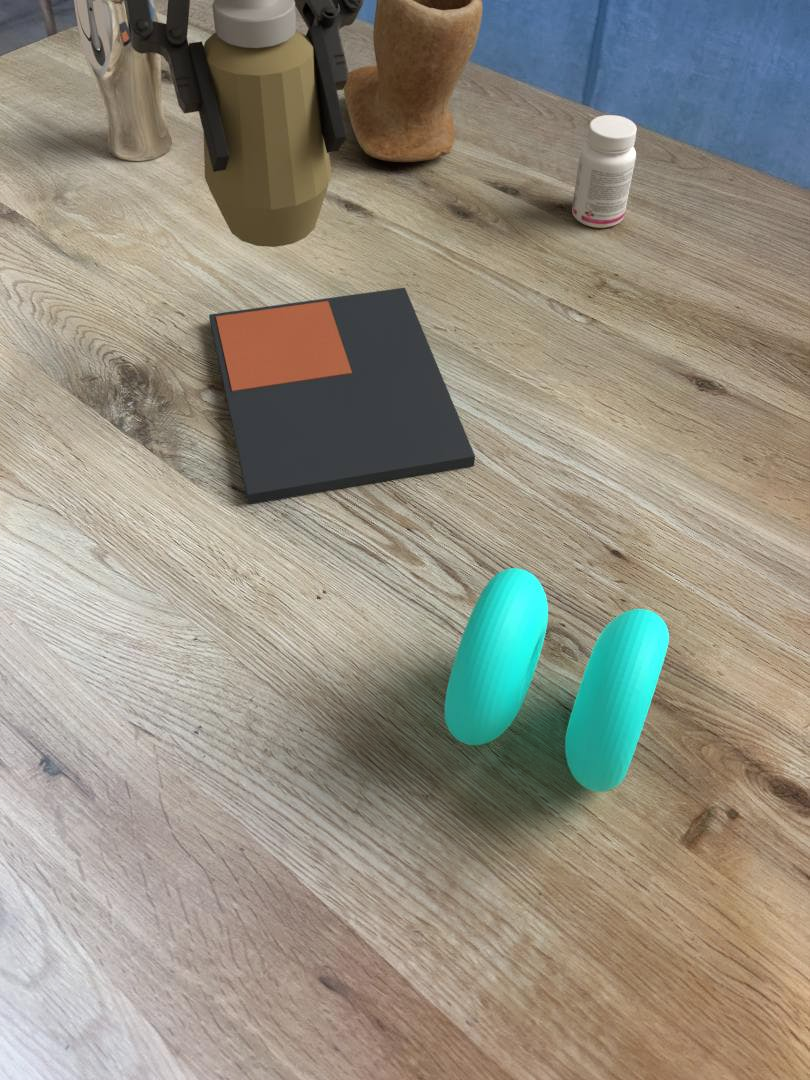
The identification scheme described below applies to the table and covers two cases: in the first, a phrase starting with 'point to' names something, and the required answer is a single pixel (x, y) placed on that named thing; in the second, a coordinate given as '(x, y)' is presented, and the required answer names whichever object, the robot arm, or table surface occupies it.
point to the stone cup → (412, 78)
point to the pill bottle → (605, 172)
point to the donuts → (509, 664)
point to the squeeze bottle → (266, 123)
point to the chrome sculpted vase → (124, 80)
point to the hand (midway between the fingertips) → (279, 153)
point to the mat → (335, 395)
